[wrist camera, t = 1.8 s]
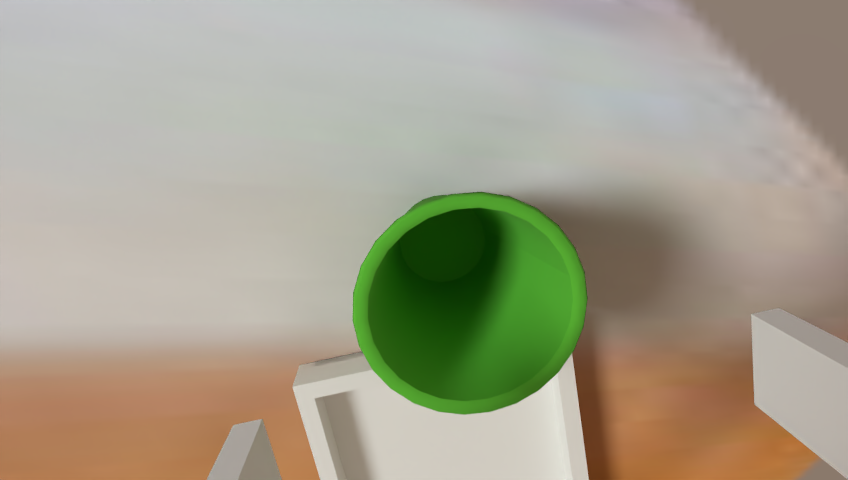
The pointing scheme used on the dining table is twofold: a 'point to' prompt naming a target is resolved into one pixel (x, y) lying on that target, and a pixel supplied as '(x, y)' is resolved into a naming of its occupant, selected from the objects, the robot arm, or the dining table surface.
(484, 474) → the tray
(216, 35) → the dining table surface
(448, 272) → the cup
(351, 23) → the dining table surface
